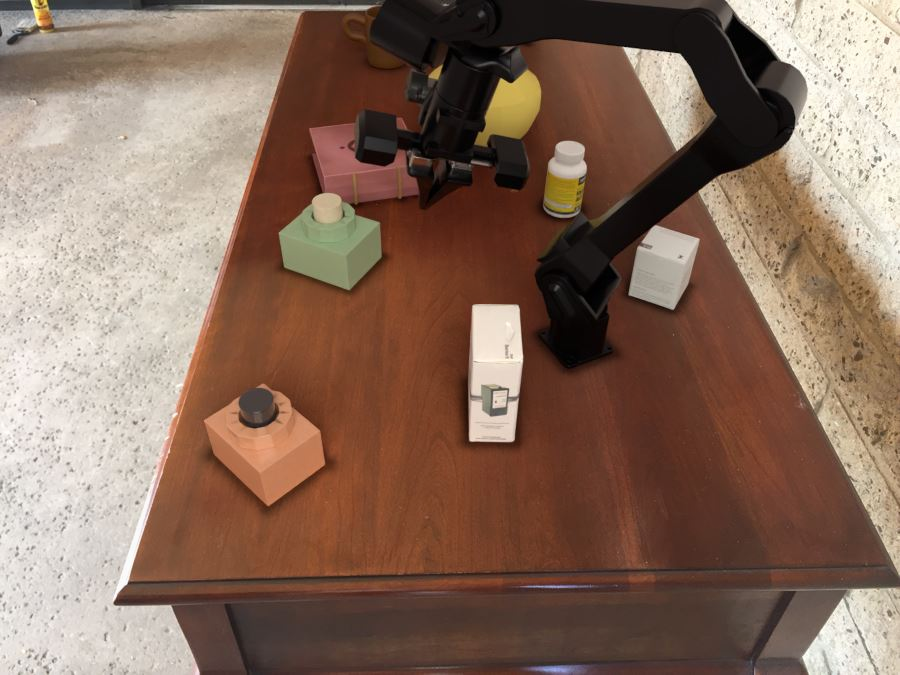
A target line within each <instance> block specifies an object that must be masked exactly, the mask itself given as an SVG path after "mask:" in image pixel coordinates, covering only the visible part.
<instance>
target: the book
mask: <svg viewBox="0 0 900 675" xmlns="http://www.w3.org/2000/svg"><path fill="white" fill-rule="evenodd" d="M396 121H397V128H399V129H405V130H408V128H407V126H406V124H405V122H404V120H403V117H396ZM354 126H355V122H353V123H352V122H351V123H343V124H337V125H328V126H327V125H326V126H319V127H310V128H308V130H309V135H310V138H311V142H312V145H313V148H314V151H315V152H314V153H312V155H311V156H312V160H313V163H314V167H315V170H316V173H317V178H318V181H319V184H320V188H321V191H322V194H323V193H333V194H336V195H338V196H340V198H341V200H342V202H345V203H348V204H349V205H350V204H354V205H358V204H360V203H366V202H372V201H374V202H375V201H379V200H387V199H394V198H397V199H402V197H409V196H418V184H417V180H416V178H415V177H411V176H409V175H408V174H407V170H406V158H405V150H399V149H397V153H396V157H395V160H394V163H392V164H390V165H388V166H385V167H383V166H377V165H371V164H366V163H360V162H359V161H358V160H357V159H356V158H355V138H354Z"/></svg>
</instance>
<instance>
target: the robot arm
mask: <svg viewBox="0 0 900 675" xmlns="http://www.w3.org/2000/svg"><path fill="white" fill-rule="evenodd" d="M381 5H382V6H381V8H380V10H379V12H378V14H377V16H376V18H375V19H374V20H373V21H372V23H371V27H370V33H369V39H370V42H371V43H372V44H373V45H374V46H376V47H378V48H379V49H381V50H383V51H384V52H386V53H388V54H389V55H391V56H393V57H394V58H396V59H398V60H399V61H401V62H403V63H404V65H405V66H407V67H409V68H410V69H409V72H408V75H407V78H406V81H405V86H404V90H403V96H404V98H405V100H406V101H407V102H409V103H413V104H417V107H418V108H419V109H420V110H419V112H418V116H417V124H418V126H420V127H421V129H420V132H419V131H415V130H411V129H410V130H409V129H407V130H405V129H399V128H397V121H396V118H397V115H396V114H393V113H388V112H383V111H377V110H372V109H367V108H364V109H363V110H361V111H360V112H359V113H357V114H356V118H355V122H354V123H355V126H354V138H355V158H356V159H357V160H358V161H359V162H360V163H366V164H371V165H377V166H383V167H385V166H388V165H390V164H392V163H394V160H395V157H396V153H397V149H399V150H405V158H406V170H407V174H408V175H409V176H411V177H415V178H416V180H417V184H418V195H417V197H418V209H419V210H421V211H422V210H423V211H427V210H428V209H430V208H431V207H433V206H434V205H435V204H437V203H438V202H439V201H441V200H442V199H444V198H445V197H446V196H448V195H450V194H452V193H454V192H455V191H457V190H459V189H461V188H462V187H467V188H468V187H471V186H472V185H473V183H474V177H473V171H474V169H475V168H476V167H479V168H484V169H491V170H492V169H493V168H494V169H495V170H494V173H493V175H492V179H493V182H494V184H495V185H496V186H497V187H498V188H502V189H503V188H504V189H509V190H515V191H521V190H523V189H524V188H525V187H526V184H527V182H528V180H529V178H530V174H531V166H530V161H529V157H528V153H527V148H526V145H525V143H524V141H523V139H522V138H521V139H516V138H511V137H506V136H501V135H496V134H492V135H490V136H489V139H488V141H487V146H488V147H485V146H479V145H474V143H475V141H476V138H477V136H478V133H479V132H482V133H483V131H484V129H485V126H486V121H485V116H486V114H487V111H488V109H489V106H490V103H491V101H492V98H493V96H494V93H495V91H496V89H497V86H498V84H499V81H500V79H501V78H502V79H503V80H505V81H507V82H508V83H513V82H514V81H516V80H517V79H518V78H519V77H520V76H521V75H522V74H523V73H524V72H525V71H526V70H527V69H528V70H529V65H528V62H527V61H526V59H525V57H524V56H523V54H522V52H521V49H520V48H521V47H520V46H523V45H526V44H527V45H528V44H532V43H535V42H539V41H550V40H560V41H566V42H567V41H569V42H578V43H585V44H592V45H593V44H594V45H602V46H610V47H617V48H618V47H619V48H628V49H637V50H645V51H653V52H662V53H670V54H679V55H680V56H681V57H682V58H683V60H684V61H685V62H686V64H687V65H688V66H689V68H690V70H691V72H692V74H693V77H694V78H695V80H696V82H697V85H698V87H699V88H700V91H701V93H702V95H703V97H704V100H705V102H706V103H707V105H708V107H709V108H710V109H711V111H712V112H713V113H712V114H711V116H710V117H709V118H708V119H707V121H706V122H705V123H704V125H703V126H702V127H701V129H700V130H699V131H698V132H697V133H696V134H695V135H694V136H693V137H692V138H691V139H689V140H688V141H687V142H685V143H684V145H682V146H681V147H680V148H679V149H678V150H677V151H675V152H674V153H673V154H672V155H671V156H670V157H668V158H667V159H666V160H665V161H664V162H662V164H661V165H659V166H658V167H657V168H655V169H654V170H653V171H652V172H651V173H650V174H649V175H647V177H645V178H644V179H643V180H642V181H641V182H640V183H638V184H636V186H634V187H633V188H632V189H631V190H630V191H629V192H628V193H627V194H625V195H624V196H623V197H622V198H620V200H619V201H617V202H616V203H615V204H614V205H613V206H611V208H609V209H608V210H606V211H605V213H604V214H602V215H600V216H599V217H597V218H592V219H588V218H587V217H586V216H585V213H583V211H581V210H580V211H579V213H578V214H577V215H575V218H574V219H573V220H572V221H571V222H570V223H569V224H567V225H565V226H563V227H560V228H559V229H558V230H557V231H556V233H555V234H554V235H553V236H552V238H551V240H550V241H549V242H548V244H547V245H546V246H545V248H544V249H543V250H542V252H541V253H540V255H539V256H538V257H537V259H536V261H537V262H538V263H540V264H539V265H538V266H537V268H536V269H535V271H534V279H535V284H536V286H537V288H538V290H539V291H540V292H541V295H542V299H543V302H544V305H545V309H546V313H547V316H548V319H549V320H550V322H549V326H550V327H548V328H545V329H542V330H540V331H539V332H538V338H539V339H540V341H542V342H543V343H544V345H545V346H546V347H547V348H548V349H549V350H550V352H551V353H552V354H553V355H554V356H555V357H556V358H557V360H558V361H559V362H560V363H561V364H562V366H563V367H564V368H565V369H573V368H576V367H579V366H581V365H584V364H587V363H589V362H592V361H595V360H598V359H601V358H603V357H607V356H610V355H611V354H613V353H614V347H613V346H612V345H611V344H610V343H609V341H607V339H606V337H607V331H608V328H609V322H610V318H611V315H610V314H609V312H608V309H609V304H608V303H609V301H610V300H611V298H612V296H613V295H614V292H615V291H616V289H617V287H618V286H619V284H620V282H621V281H622V279H623V277H622V275H621V274H620V272H619V271H618V270H617V269H616V267H615V266H614V265H613V263H612V261H613V260H614V259H615V258H616V257H617V256H618V255H619V254H621V253H622V252H623V251H624V250H626V249H627V248H628V247H629V246H631V245H632V244H633V243H635V242H636V241H637V240H638V239H640V238H641V237H642V236H643V235H645V234H647V233H648V232H649V231H650V230H651V228H652V227H654V226H655V225H657V224H658V223H660V222H661V221H662V220H664V219H665V218H667V216H669V215H670V214H671V213H673V212H674V211H675V210H677V209H678V208H679V207H680V206H682V205H683V204H684V203H686V202H687V201H688V200H689V199H691V198H692V197H694V196H695V195H696V194H697V193H698V192H700V191H701V190H702V189H703V188H705V187H706V186H707V185H708V184H710V183H711V182H712V181H714V180H715V179H717V178H718V177H720V176H722V175H725V174H728V173H729V174H730V173H733V172H736V171H739V170H740V171H741V170H744V169H746V168H748V167H749V166H752V165H754V164H756V163H757V162H759V161H761V160H763V159H765V158H767V157H769V156H771V155H773V154H774V153H776V152H778V151H780V150H781V149H782V148H784V146H785V145H787V143H788V142H789V141H790V140H791V138H792V136H793V134H794V132H795V129H796V127H797V124H798V123H799V120H800V117H801V115H802V113H803V111H804V107H805V105H806V103H807V100H808V94H809V92H808V91H809V89H808V84H807V79H806V78H805V76H804V75H803V73H802V72H801V71H800V69H798V68H796V67H795V66H794V65H792V64H791V63H789V62H785V61H782V59H780V57H779V56H778V55H777V53H776V52H775V51H774V49H773V48H772V46H770V44H769V43H768V42H767V40H765V38H763V36H761V35H760V34H759V33H758V32H756V31H755V30H754V29H752V28H751V27H750V26H749V25H748V24H746V23H745V22H744V21H743V20H742V19H741V18H740V16H739V15H738V14H737V13H736V11H735V10H734V8H732V6H731V5H730V3H729V2H728V1H727V0H454V1H452V2H451V3H449V4H447V5H448V6H446V5H444V4H442V3H441V2H439V1H437V0H384V1H383V3H382V4H381ZM442 62H443V63H442ZM441 63H442V65H443V66H442V69H441V72H440V75H439V78H438V79H434V78H429V74H428V73H427V71H426V70H427V69H428V68H429V67H430V68H431V69H437V68H438V67H440V65H441ZM436 160H439V161H438V164H437V166H436V168H434V163H435V161H436ZM434 169H435V170H434Z"/></svg>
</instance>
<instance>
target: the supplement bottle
mask: <svg viewBox="0 0 900 675" xmlns="http://www.w3.org/2000/svg"><path fill="white" fill-rule="evenodd" d="M585 151H586V148H585V146H584V145H583V144H582V143H580V142H578V141H575V140H563V141H560V142H557V144H556V145H555V148H554V156H553V157H552V158H550V160H549V161H548V164H547V170H546V178H545V186H544V195H543V202H542V207H543V210H544V211H545V212H546V213H547V214H548V215H550V216H552V217H555V218H560V219H569V218H573V217H576V216H577V215H578V213H579V212H580V211H581V208H582V202H583V196H584V192H585V191H584V189H585V183H586V179H587V171H588V165H587V163H586V162H585V160H584V158H585Z"/></svg>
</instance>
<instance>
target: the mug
mask: <svg viewBox="0 0 900 675" xmlns="http://www.w3.org/2000/svg"><path fill="white" fill-rule="evenodd" d="M382 5H383V4H380V5H374V6H371V7H369V8H367V9H366V10H365V12H364V15H362V14H360V13H356V12H350V13H346V14H345V15H344V16H343V18H342V19H341V23H340V24H341V26H340V27H341V31H342V32H343V34H344V36H345V37H346V38H347V39H349V40H351V41H354V42H359V43H360V44H362V45H363V46H364V47H366V57H367V62H368V64H369V65H370V66H371V67H373V68H376V69H380V70H394V69H398V68H400V67H402V66H404V65H405V64H404V63H403V62H401V61H399V60H398V59H396V58H394V57H393V56H391V55H389V54H388V53H386V52H384V51H383V50H381V49H379V48H378V47H376V46H374V45H373V44H372V43H371V42H370V39H369V33H370V27H371V23H372V21H373V20H374V19H375V18H376V16H377V14H378V12H379V10H380V8H381V6H382ZM351 22H352V23H355V24H358V25H361V26H362V27H364V28H365V29H364V30H365V33H364V32H362V31H355V30H353V29H352V28H351V25H350V23H351Z"/></svg>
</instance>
